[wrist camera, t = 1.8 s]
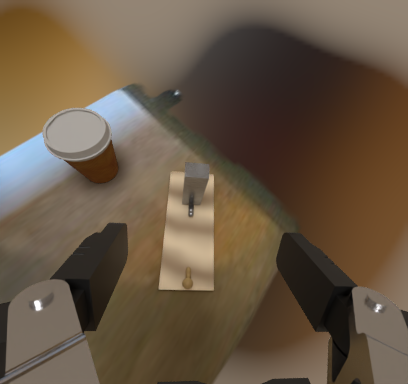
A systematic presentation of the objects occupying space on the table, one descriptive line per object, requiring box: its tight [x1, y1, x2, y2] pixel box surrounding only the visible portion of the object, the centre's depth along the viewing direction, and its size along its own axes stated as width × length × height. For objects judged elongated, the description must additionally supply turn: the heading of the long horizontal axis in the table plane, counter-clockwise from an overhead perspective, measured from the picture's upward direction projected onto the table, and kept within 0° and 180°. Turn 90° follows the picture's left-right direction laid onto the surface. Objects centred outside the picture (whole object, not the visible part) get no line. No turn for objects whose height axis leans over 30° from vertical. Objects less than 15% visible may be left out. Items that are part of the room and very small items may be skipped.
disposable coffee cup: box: [43, 108, 118, 183], centre depth 35 cm, size 10×10×12 cm
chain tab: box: [182, 162, 209, 217], centre depth 34 cm, size 9×4×11 cm, turn 179°
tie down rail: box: [159, 171, 214, 291], centre depth 36 cm, size 22×9×4 cm, turn 179°
